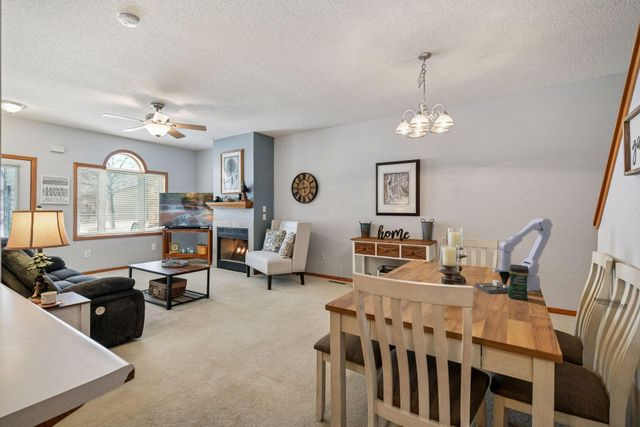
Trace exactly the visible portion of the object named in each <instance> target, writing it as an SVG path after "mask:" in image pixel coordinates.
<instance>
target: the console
mask: <svg viewBox="0 0 640 427" xmlns="http://www.w3.org/2000/svg"><path fill="white" fill-rule="evenodd" d="M492 283H493V282H481V283H480V282H479V283H478V282H477V283H474V288H477V289H479V290H480V291H481V290H482V291H483V292H485V293H486V294H508V288H509V285H506V284H502V282H500V287H496V286H494V285H492Z"/></svg>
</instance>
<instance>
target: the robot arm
mask: <svg viewBox="0 0 640 427" xmlns="http://www.w3.org/2000/svg"><path fill="white" fill-rule="evenodd" d="M552 227H553V223H552V221H551V220H550V219H549V218H543V217H537V216H536V217H533V218H532V220H529V222H528V224H526V225H525V226H524V227H523V228H522V229H521V230H520V231H519V232H517V233H515V232H514V233H512V234H511V236H510V237H508V238H507V239H506V240H505V241H502V242H500V244H499V245H498V249H499V254H500V257H499V259H500V260H499V268H497V267H496V268H493V269H492V273H494V274H496V273H498V274H499V277H500V278H501V284H503V285H507V284H508V281H509V280H510V273H509V269H510V265H511V264H512V252H514V250H515V247H516V246H518V245H519V244H520V243H521V242H522V241H523V238H524V237H526V236H527V235H528V234H530V233H531V232H533V231H535V230H536V231H537V233H538V236H537V237H536V240H535V242H534V244H533V246H532V248H531V251H530V252H529V254H528V257H527V258H524V259H523V260H522V262H521V263H520V264H519V265H524V266H528V270H529V275H528V277H527V292H531V291H532V292H534V291H535V292H537V291H539V292H540V291H541V289H540V287H541V278H540V276H539V275H537V274H539V268H540V264H539V260H540V258H541V257H542V254H543V252H544V250H545V248H546V245H547V244H548V242H549V239H550V238H551V234H552Z"/></svg>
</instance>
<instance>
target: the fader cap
mask: <svg viewBox="0 0 640 427" xmlns="http://www.w3.org/2000/svg"><path fill="white" fill-rule="evenodd" d="M491 283H492V285H494V286H496V287H500V283H501V281H499V279H498V280H497V279H492V282H491Z"/></svg>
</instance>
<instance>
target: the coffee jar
mask: <svg viewBox="0 0 640 427" xmlns="http://www.w3.org/2000/svg"><path fill="white" fill-rule="evenodd" d="M509 273H510V277H509V283H508V287H509V288H508V293H507V297H509V299H516V300H528V297H529V296H528V291H527V277H528V275H529V270H528V266H524V265H520V264H512V263H511V265H510V269H509Z"/></svg>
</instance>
